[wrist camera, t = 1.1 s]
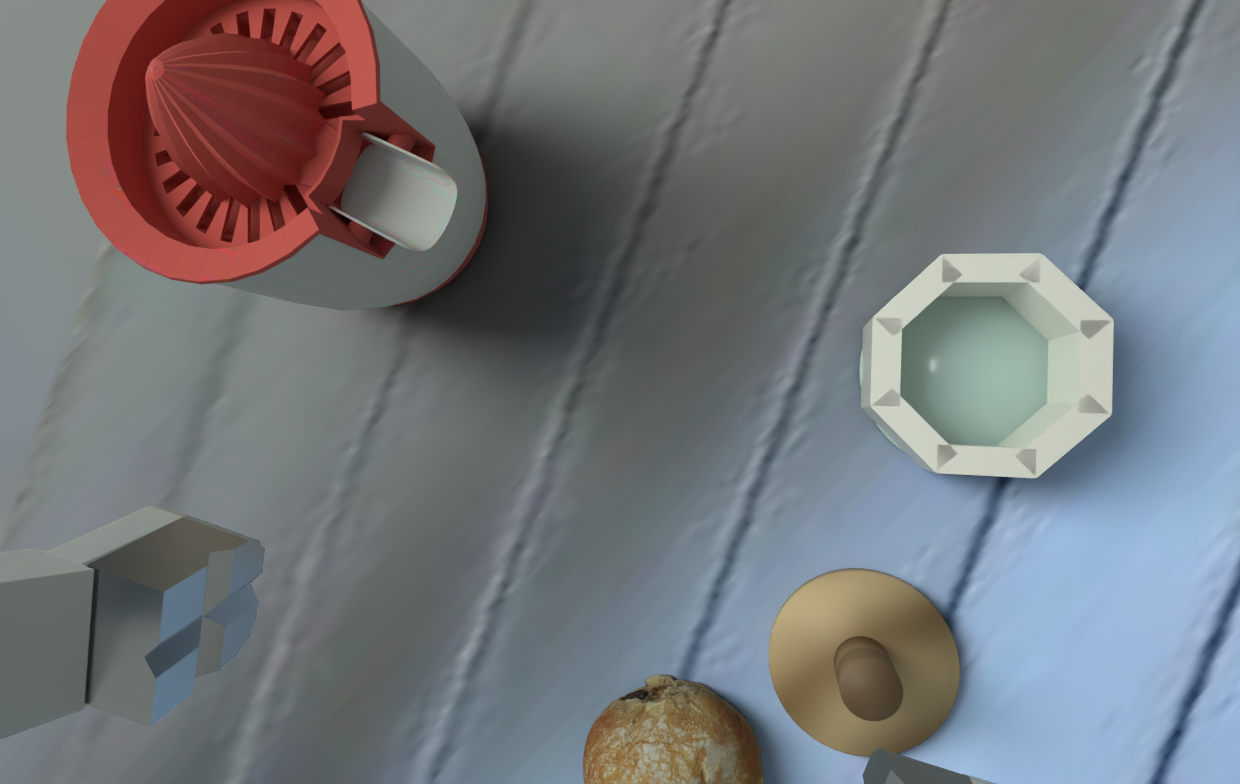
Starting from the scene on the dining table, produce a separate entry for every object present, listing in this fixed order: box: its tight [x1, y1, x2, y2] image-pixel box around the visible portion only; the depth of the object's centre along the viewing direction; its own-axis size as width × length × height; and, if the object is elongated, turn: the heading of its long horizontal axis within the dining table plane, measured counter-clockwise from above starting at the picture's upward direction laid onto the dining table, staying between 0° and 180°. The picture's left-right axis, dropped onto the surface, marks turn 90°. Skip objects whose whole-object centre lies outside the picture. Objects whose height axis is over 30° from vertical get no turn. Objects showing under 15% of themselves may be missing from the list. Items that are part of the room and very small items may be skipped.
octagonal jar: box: [859, 253, 1114, 478], centre depth 38 cm, size 11×11×5 cm
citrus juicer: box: [66, 0, 488, 310], centre depth 38 cm, size 16×17×20 cm
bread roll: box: [583, 675, 764, 784], centre depth 41 cm, size 10×10×8 cm
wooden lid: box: [769, 568, 960, 757], centre depth 39 cm, size 10×10×5 cm
